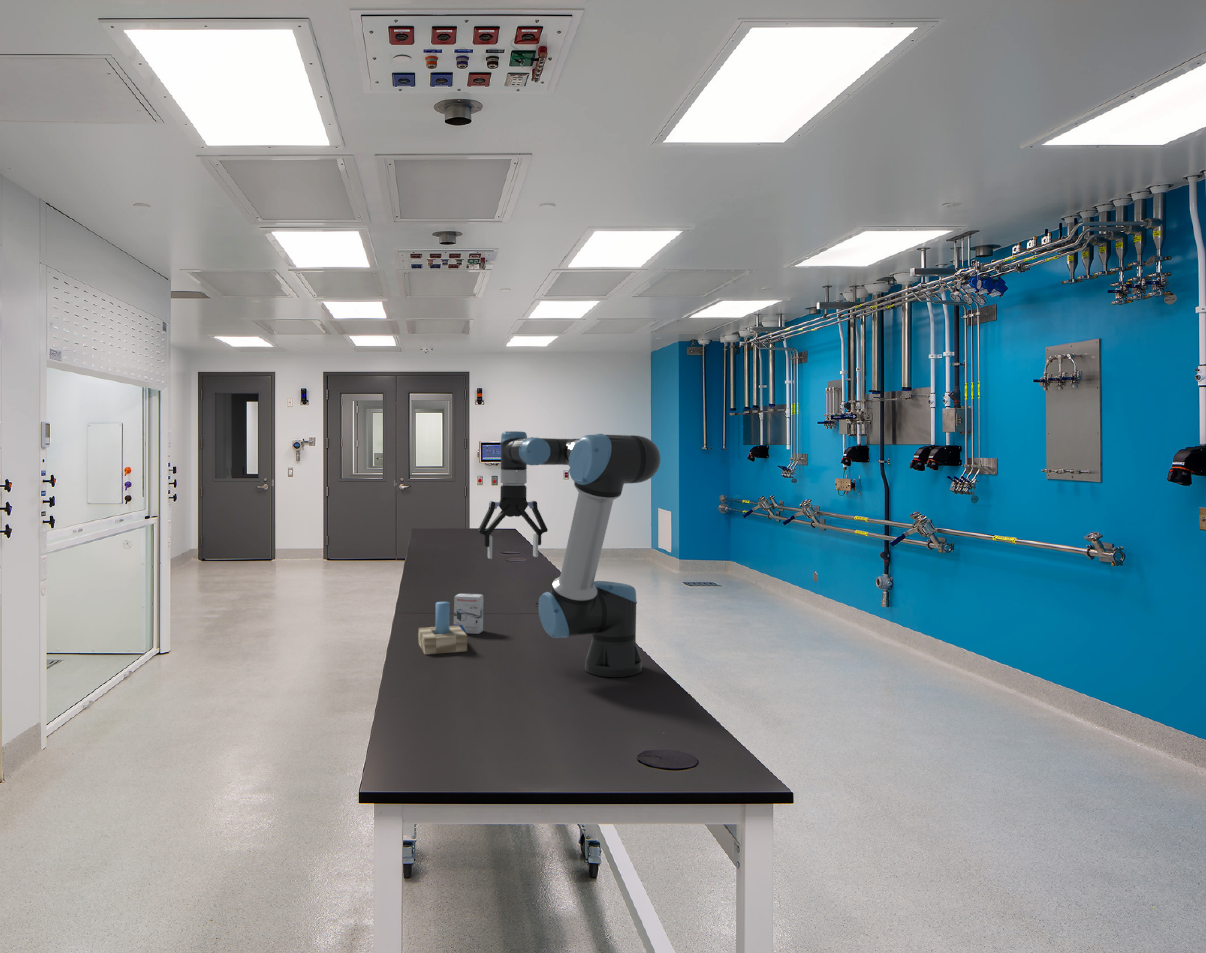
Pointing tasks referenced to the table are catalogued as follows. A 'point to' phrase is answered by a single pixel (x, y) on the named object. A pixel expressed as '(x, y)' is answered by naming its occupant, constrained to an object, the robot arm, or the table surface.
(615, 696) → the table surface
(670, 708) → the table surface
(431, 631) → the socket block
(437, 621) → the peg
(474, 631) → the ink box
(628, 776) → the table surface
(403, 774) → the table surface
